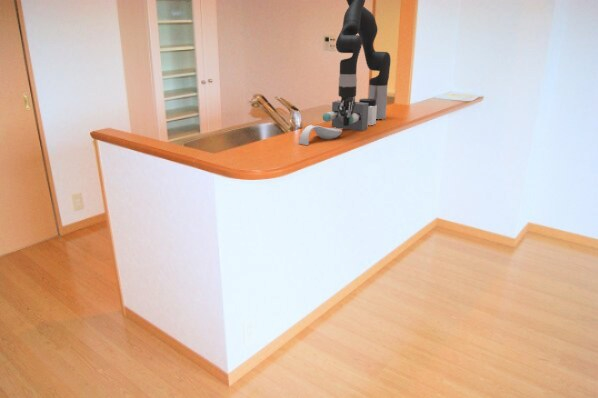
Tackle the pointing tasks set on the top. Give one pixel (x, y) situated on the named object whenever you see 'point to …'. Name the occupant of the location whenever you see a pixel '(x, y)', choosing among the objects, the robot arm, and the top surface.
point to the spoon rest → (318, 133)
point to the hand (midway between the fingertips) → (346, 125)
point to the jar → (371, 110)
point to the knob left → (329, 116)
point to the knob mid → (340, 117)
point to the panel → (358, 109)
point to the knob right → (354, 118)
